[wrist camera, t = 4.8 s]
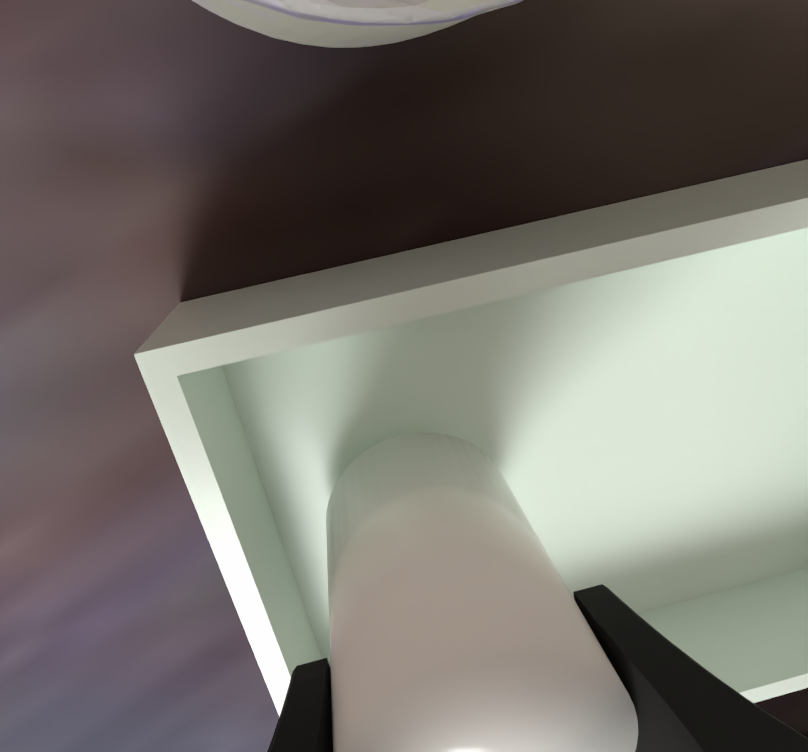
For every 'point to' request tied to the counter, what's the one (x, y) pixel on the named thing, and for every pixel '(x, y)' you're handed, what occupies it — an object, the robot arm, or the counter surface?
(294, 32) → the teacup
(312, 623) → the tote
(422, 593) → the white canister
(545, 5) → the counter surface
